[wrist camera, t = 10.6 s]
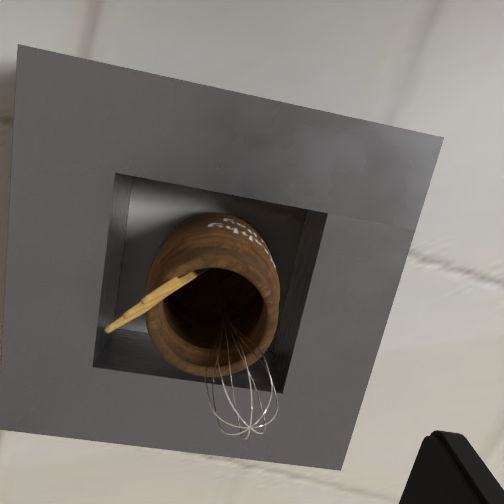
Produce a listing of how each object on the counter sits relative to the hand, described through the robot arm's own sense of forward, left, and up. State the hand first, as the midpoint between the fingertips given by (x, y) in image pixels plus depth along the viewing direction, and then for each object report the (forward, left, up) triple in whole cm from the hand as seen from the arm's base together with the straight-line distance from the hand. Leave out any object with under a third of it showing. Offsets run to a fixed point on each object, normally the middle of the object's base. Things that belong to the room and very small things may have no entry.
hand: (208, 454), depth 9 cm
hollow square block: (0, 0, -14) cm, 14 cm away
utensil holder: (0, 0, -15) cm, 15 cm away
